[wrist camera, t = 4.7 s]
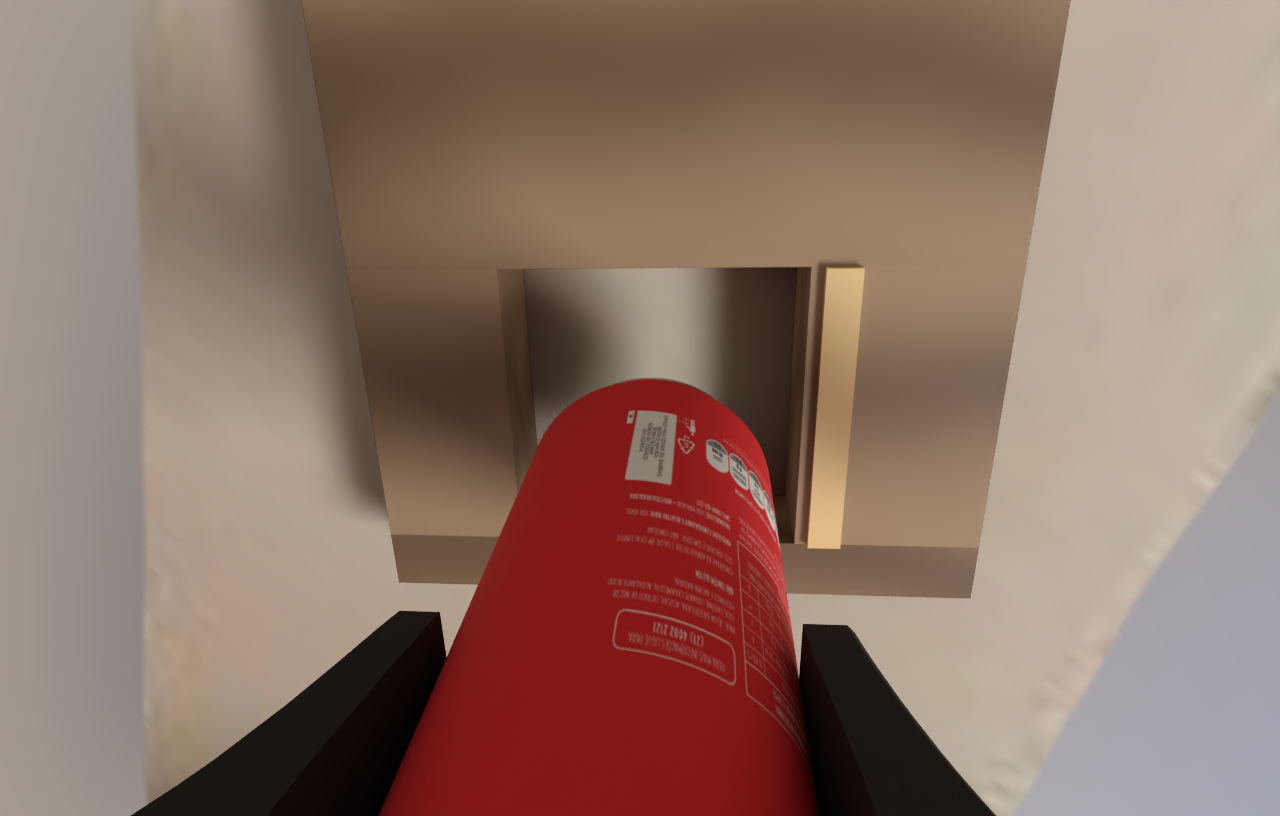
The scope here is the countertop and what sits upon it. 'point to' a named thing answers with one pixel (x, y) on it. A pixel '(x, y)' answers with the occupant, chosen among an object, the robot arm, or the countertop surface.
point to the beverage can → (624, 632)
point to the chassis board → (696, 239)
